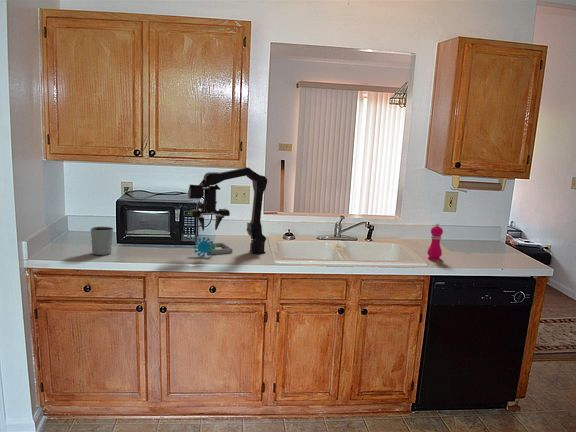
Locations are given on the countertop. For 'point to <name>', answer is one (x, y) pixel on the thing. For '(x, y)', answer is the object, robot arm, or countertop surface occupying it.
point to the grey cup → (101, 240)
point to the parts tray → (221, 251)
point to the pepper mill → (435, 243)
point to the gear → (204, 246)
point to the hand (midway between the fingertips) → (209, 230)
